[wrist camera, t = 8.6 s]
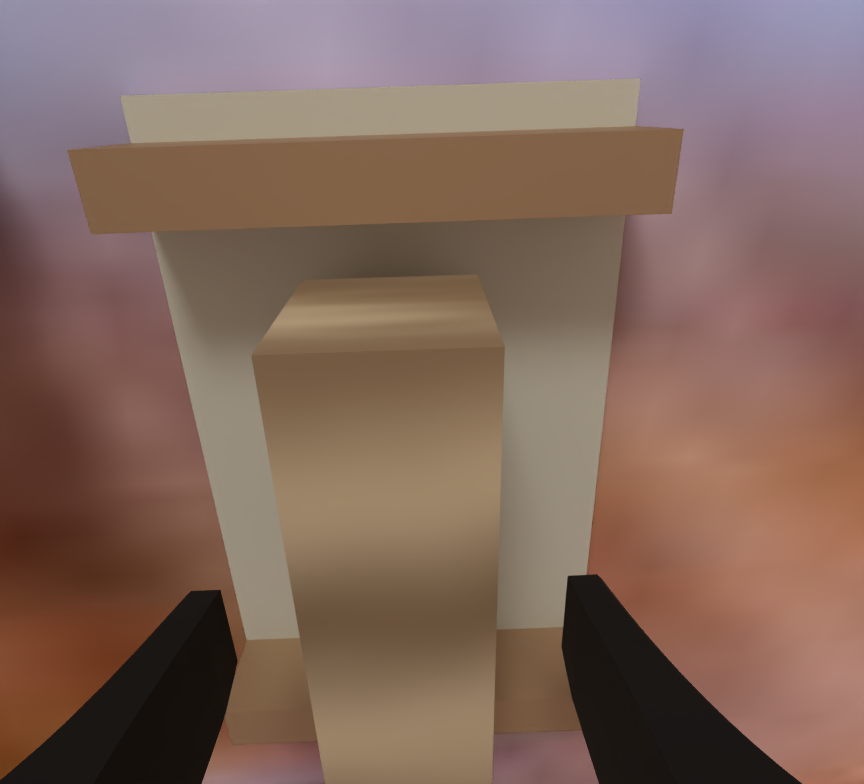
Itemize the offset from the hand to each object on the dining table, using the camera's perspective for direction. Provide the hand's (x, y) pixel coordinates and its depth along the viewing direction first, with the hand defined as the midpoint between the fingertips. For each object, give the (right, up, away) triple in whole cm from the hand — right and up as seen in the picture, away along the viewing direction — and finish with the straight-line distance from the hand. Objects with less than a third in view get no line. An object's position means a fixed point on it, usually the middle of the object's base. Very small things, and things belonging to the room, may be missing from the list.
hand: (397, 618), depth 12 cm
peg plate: (0, +3, +6) cm, 7 cm away
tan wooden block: (0, +2, +4) cm, 4 cm away
